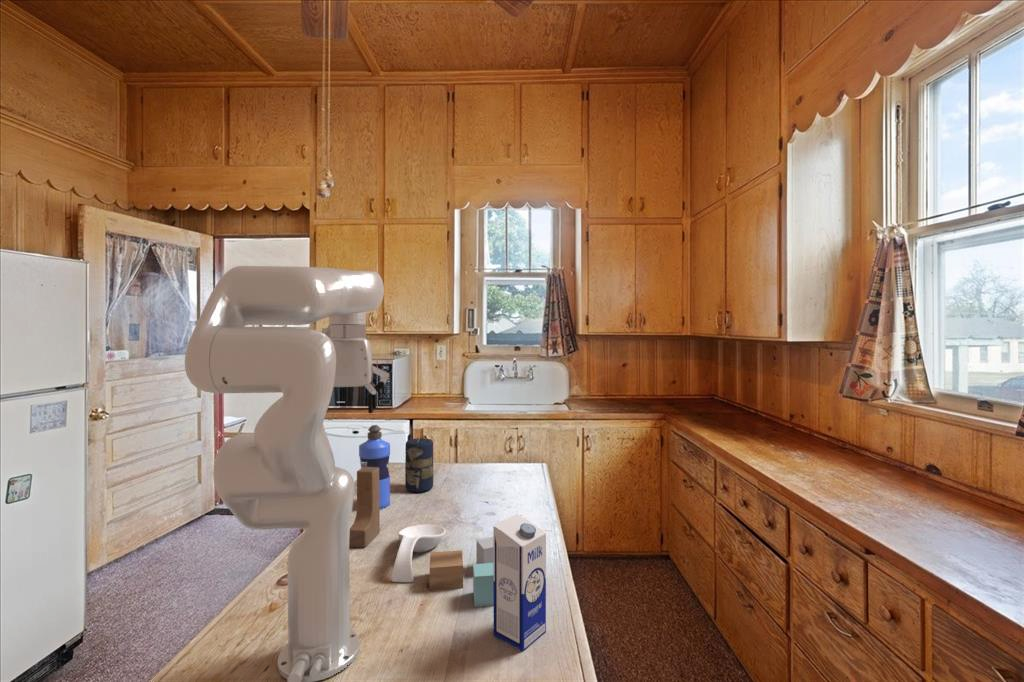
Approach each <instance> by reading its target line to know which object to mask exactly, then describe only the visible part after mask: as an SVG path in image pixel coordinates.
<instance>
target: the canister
mask: <svg viewBox="0 0 1024 682" xmlns="http://www.w3.org/2000/svg"><path fill="white" fill-rule="evenodd" d="M404 447H405V456H404V457H405V459H404V460H405V461H404V462H405V467H404V469H405V470H404V471H405V472H404V474H405V475H404V477H405V481H404V483H405V485H404V486H405V489H406V490H407V491H408V492H412V493H424V492H427V491H430V490H431V489H432V488H433V486H434V441H433V440H432V439H430V438H425V437H424V438H423V437H421V436H419V438H412V439H408V440H407V441H406V442H405V446H404Z"/></svg>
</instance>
